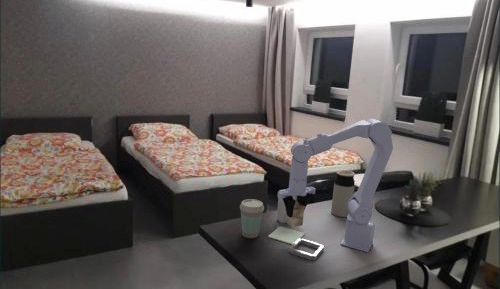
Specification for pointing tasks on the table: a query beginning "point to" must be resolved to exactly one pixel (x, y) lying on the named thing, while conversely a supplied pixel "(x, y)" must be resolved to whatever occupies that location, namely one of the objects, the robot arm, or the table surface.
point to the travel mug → (342, 192)
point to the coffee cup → (251, 217)
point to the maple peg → (296, 215)
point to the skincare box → (282, 210)
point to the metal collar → (304, 254)
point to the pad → (286, 235)
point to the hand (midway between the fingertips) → (294, 215)
